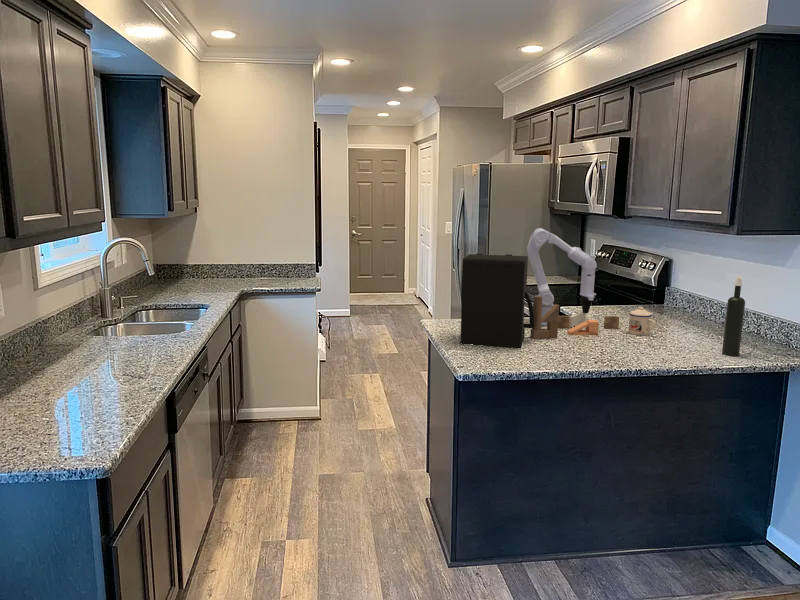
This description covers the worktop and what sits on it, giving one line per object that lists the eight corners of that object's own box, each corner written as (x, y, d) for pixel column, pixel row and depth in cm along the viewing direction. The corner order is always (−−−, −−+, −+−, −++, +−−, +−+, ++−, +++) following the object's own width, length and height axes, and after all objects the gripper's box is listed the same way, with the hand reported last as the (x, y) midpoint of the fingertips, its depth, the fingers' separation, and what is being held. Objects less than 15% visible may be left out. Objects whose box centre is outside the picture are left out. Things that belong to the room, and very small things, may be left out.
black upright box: (534, 337, 252) (538, 255, 246) (531, 349, 234) (535, 260, 227) (468, 333, 260) (470, 252, 253) (460, 344, 241) (462, 258, 235)
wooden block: (557, 338, 251) (560, 296, 248) (533, 339, 250) (535, 296, 247) (554, 336, 255) (556, 294, 252) (530, 337, 253) (531, 295, 250)
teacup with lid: (623, 332, 262) (625, 306, 260) (637, 330, 267) (639, 304, 265) (646, 338, 252) (648, 311, 250) (660, 335, 257) (663, 309, 254)
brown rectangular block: (555, 328, 269) (556, 316, 268) (554, 327, 271) (555, 315, 270) (618, 328, 269) (619, 316, 268) (617, 328, 270) (618, 316, 269)
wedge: (569, 335, 256) (570, 322, 255) (567, 333, 261) (567, 319, 260) (598, 335, 256) (598, 322, 255) (594, 333, 261) (595, 319, 259)
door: (571, 327, 269) (572, 316, 268) (569, 327, 270) (569, 316, 269) (585, 322, 280) (586, 311, 280) (583, 321, 281) (583, 311, 280)
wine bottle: (719, 354, 229) (728, 276, 223) (724, 351, 233) (733, 274, 227) (736, 357, 225) (745, 278, 219) (741, 354, 229) (750, 276, 223)
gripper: (601, 286, 265) (599, 316, 267) (591, 281, 279) (589, 309, 282) (585, 286, 265) (583, 316, 267) (576, 281, 279) (574, 309, 282)
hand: (585, 313), depth 274 cm, fingers closed
